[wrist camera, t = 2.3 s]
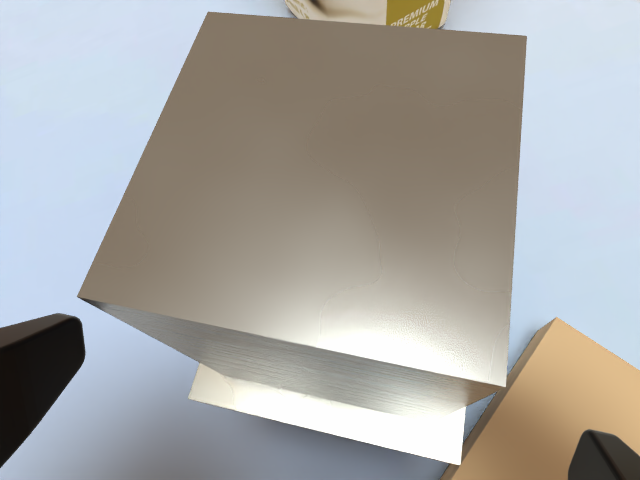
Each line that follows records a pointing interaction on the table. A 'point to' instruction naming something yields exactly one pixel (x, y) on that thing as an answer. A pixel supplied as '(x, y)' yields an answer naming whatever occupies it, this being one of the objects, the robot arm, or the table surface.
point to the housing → (329, 225)
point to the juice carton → (374, 11)
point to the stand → (551, 409)
